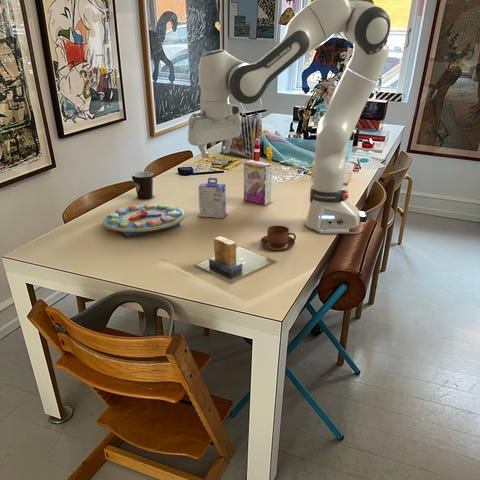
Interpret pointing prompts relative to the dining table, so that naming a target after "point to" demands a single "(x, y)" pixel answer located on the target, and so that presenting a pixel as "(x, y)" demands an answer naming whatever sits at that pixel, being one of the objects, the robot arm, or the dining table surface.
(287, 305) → the dining table surface
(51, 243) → the dining table surface
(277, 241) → the cup and saucer
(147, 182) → the coffee mug
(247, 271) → the slate board
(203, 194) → the ink cartridge box
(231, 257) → the eraser
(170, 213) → the shape sorting clock
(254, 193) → the candy bar box
